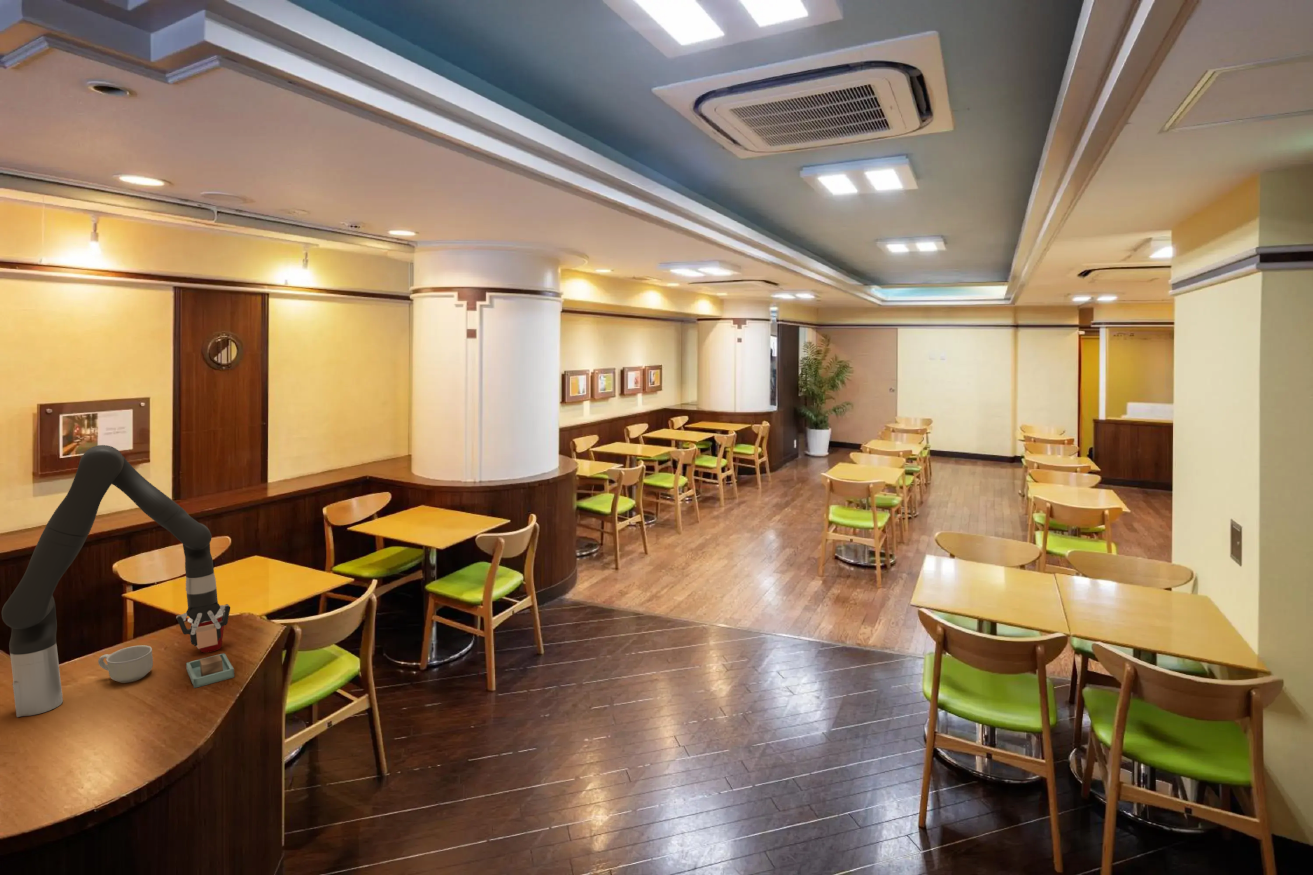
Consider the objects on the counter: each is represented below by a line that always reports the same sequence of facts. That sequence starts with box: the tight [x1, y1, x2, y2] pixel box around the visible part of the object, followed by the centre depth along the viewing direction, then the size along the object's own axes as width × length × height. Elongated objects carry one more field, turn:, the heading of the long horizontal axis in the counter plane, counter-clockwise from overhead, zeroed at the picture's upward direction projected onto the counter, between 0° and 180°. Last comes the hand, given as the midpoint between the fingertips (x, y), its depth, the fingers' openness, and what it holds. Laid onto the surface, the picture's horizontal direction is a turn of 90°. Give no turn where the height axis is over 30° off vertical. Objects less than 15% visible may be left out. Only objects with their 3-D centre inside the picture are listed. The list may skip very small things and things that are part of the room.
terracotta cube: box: [196, 624, 218, 650], centre depth 202 cm, size 5×5×5 cm
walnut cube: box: [200, 654, 223, 677], centre depth 198 cm, size 5×5×5 cm
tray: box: [185, 652, 235, 689], centre depth 200 cm, size 10×15×2 cm, turn 42°
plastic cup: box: [187, 609, 225, 653], centre depth 217 cm, size 11×11×12 cm
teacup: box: [97, 644, 154, 684], centre depth 198 cm, size 14×11×8 cm
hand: (206, 642), depth 202 cm, fingers closed on terracotta cube, 5 cm apart
